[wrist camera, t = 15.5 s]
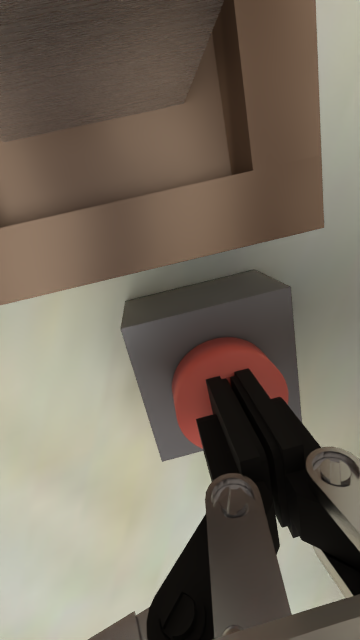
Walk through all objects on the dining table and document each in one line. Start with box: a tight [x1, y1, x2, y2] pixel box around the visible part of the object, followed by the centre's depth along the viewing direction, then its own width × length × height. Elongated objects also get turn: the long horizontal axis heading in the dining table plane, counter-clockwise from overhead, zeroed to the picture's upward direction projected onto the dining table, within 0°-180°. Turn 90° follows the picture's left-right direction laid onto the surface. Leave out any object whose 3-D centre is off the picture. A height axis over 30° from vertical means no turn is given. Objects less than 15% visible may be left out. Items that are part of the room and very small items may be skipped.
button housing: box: [121, 270, 302, 462], centre depth 15 cm, size 7×7×4 cm
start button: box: [172, 337, 288, 449], centre depth 12 cm, size 4×4×2 cm
